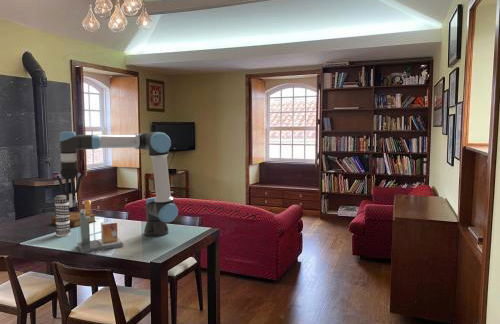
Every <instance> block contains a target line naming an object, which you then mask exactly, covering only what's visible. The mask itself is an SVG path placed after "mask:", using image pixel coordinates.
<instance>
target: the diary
mask: <svg viewBox="0 0 500 324" xmlns="http://www.w3.org/2000/svg"><path fill="white" fill-rule="evenodd" d="M79 213H80V211H79V212H78V211H70V212H69V214H70V216H69V220H70V227H69V228H79V227H80V218H79ZM96 216H97V215H96V214H93V213H91V216H90V218H89V225H90V224H93V223H96V222H97V221H96V220H95V219H96V218H95V217H96ZM51 225H56V218H55V215H53V216H52V217H51Z"/></svg>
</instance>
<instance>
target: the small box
mask: <svg viewBox="0 0 500 324" xmlns="http://www.w3.org/2000/svg"><path fill="white" fill-rule="evenodd" d="M100 227H101V228H100V230H101V239H102V241H103V242H110V241H117V240H118V238H119V236H118V222H117V221H116V220H113V221H106V222H100Z"/></svg>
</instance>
